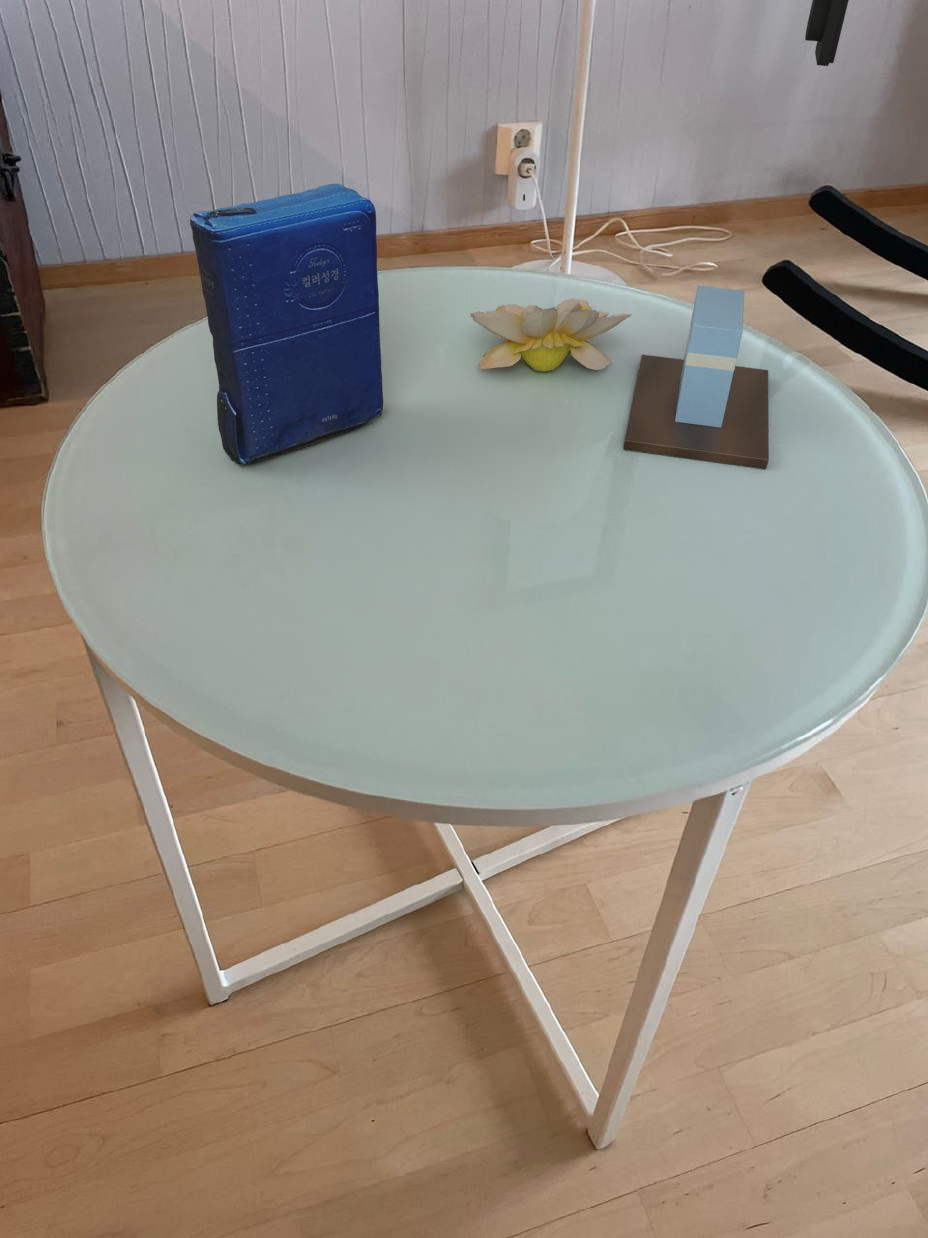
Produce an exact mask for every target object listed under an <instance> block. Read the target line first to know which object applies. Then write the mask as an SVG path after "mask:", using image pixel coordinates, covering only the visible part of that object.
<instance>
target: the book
mask: <svg viewBox="0 0 928 1238" xmlns="http://www.w3.org/2000/svg"><path fill="white" fill-rule="evenodd" d="M189 221H190V223H189V225H190V228H191V232H192V233H191V234H192V241H193V245H194V249H195V255H196V260H197V266H198V272H199V276H200V283H201V291H202V295H203V299H204V303H205V310H206V316H207V325H208V328H209V333H210V334H211V336H212V349H213V359H214V364H215V368H216V372H217V381H218V391H217V393H216V394H217V395H216V413H217V426H218V432H219V434H220V438H221V446H222V449H223V451H224V453H226V455H227V456H228V457H229V459H230V461H231V462H234V463H235V464H236V465H239V466H243V465H251V464H255V463H259V462H262V461H265V460H268V459H271V458H273V457H277V456H280V455H283V454H284V455H285V454H286V453H290V452H293V451H296V450H299V449H303V448H306V447H311V446H313V445H316V444H318V443H320V442H321V443H322V442H323V441H325V440H328V439H331V438H333V437H336V436H339V435H342V434H344V433H348V432H351V431H354V430H356V429H358V428H361V427H363V426H364V425H366V424H367V423H369V422H371V421H372V420H375V419H378V418H380V417H382V413H383V408H384V392H383V391H384V390H383V389H384V388H383V373H382V350H381V349H382V348H381V331H380V330H381V329H380V328H381V326H380V325H381V324H380V301H379V300H380V299H379V298H380V297H379V295H380V294H379V293H380V292H379V282H378V281H379V279H378V244H377V213H376V207H375V205H374V203H373V202H372V201H371V199H369V198H368V197H363V196H362V195H360V193H359V192H358V191H357V190H354V189H353V188H349V187H347V186H345V185H344V184H341V183H329V184H323V185H319V186H318V187H315V188H311V189H306V190H304V191H301V192H296V193H289V194H283V195H280V196H276V197H273V198H267V199H260V200H257V201H254V202H250V203H249V202H248V203H240V204H237V205H234V206H233V205H232V206H227V207H220V208H216V209H212V210H200V211H195V212H193V213H192V214H191V215H190V220H189Z"/></svg>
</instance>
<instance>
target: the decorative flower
mask: <svg viewBox="0 0 928 1238" xmlns="http://www.w3.org/2000/svg"><path fill="white" fill-rule="evenodd" d="M469 315H470V317H471V318H472V320H473V321H474V322H475V323H476V324H478V325H480V326H481V327H483V328H484V329H485V330H487V331H489V332H491V333H492V334H494V335H496V336H497V337H500V338H502V339H505V341H502V342H501V343H499V344H497V345H495V346H494V347H492V348H490V349H489V350H487V352H485V353H484V354H482V359H481V360H480V361H479V363H478V367H479V369H481V370H482V369H484V370H485V369H495V368H505V367H506V368H507V367H512V366H514V365H515V364H517V363H518V362H519V361H520V360H521V358H522V359H523V360H524V362H525V363H526V364H527V365H528V366H529V367H530V368H532V369H533V370H534V371H536V372H543V373H546V372H549V371H554V370H555V369H557V368H558V367H559V366H560V365H561V364H562V363H563V362H564V361H565V359H566V357H567V356H568V355H570V356H572V357H573V358H574V360H576V361H577V362H578V363H579V364H581V365H582V366H584V367H586V369H590V370H594V371H600V370H604V369H605V368H606V367H608V365H609V364H611V359H610V358H609V357H608V356H607V355H606V354H605V353H604V352H602V350H601V349H600V348H598V347H596V346H595V345H593V344H592V343H590V342H589V341H588V340H590V339H593V338H596V337H599V336H600V335H602V334H605V333H607V332H608V331H610V330H612V329H613V328H615V327H617V326H618V325H620V324H621V323H622V322H624V321H625V320H627V319H628V318H630V317H631V316H632V314H630V313H626V312H622V313H617V314H613V315H610V312H607V311H601V310H600V311H598V310H597V309H594V307H593V306H591V305H590V306H589V300H587V299H581V298H580V299H579V298H570V299H566V300H563V301H562V302H560V303H559V304H557V305H556V306H554V307H553V306H552V307H549V308H542V307H540V306H538V305H534V304H528V305H527V306H525V307H523V306H522V305H521V306H520V305H518V304H514V303H513V304H511V303H510V304H501V305H498V306H497V307H496V309H495V310H489V311H488V310H487V311H485V312H483V311H476V312H472V313H469ZM609 315H610V316H609Z"/></svg>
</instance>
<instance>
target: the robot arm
mask: <svg viewBox="0 0 928 1238" xmlns="http://www.w3.org/2000/svg"><path fill="white" fill-rule="evenodd" d="M849 1H850V0H812V1H811V4H810V5H811V6H810V11H809V15H808V19H807V24H806V29H805V36H804V40H805V41H807V42H808V41H809V42H810V41H811V42H816V45H815V51H814V55H815V60H816V66H821V67H822V66H823V67H828V66H829V65H830V64H834V62H835V59H836V55H837V50H838V47H839V42H840V37H841V33H842V30H843V26H844V21H845V17H846V13H847V10H848V4H849Z"/></svg>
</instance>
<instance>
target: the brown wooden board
mask: <svg viewBox="0 0 928 1238" xmlns="http://www.w3.org/2000/svg"><path fill="white" fill-rule="evenodd" d="M683 362H684V359H682V358H673V357H664V356H659V355H658V356H657V355H651V354H650V355H649V354H641V355H640V361H639V365H638V372H637V375H636V381H635V386H634V391H633V396H632V402H631V406H630V411H629V412H630V413H629V416H628V421H627V426H626V431H625V435H624V442H623V450H624V451H630V452H638V453H644V454H645V453H646V454H652V455H659V456H667V457H674V458H682V459H689V460H695V461H696V460H697V461H703V462H710V463H718V464H723V465H724V464H726V465H732V466H739V467H745V468H754V469H762V470H767V467H768V464H769V460H770V459H769V457H770V454H769V451H770V450H769V448H770V446H769V443H770V442H769V441H770V439H769V438H770V437H769V435H770V434H769V433H770V432H769V428H770V427H769V425H770V424H769V369H763V368H756V367H755V368H754V367H746V366H740V365H735V369H734V373H733V377H732V382H731V386H730V391H729V395H728V400H727V404H726V409H725V413H724V418H723V422H722V427H721V428H719V427H711V426H704V425H696V424H688V423H681V422H675V417H676V409H677V402H678V394H679V387H680V379H681V373H682V368H683Z"/></svg>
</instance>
